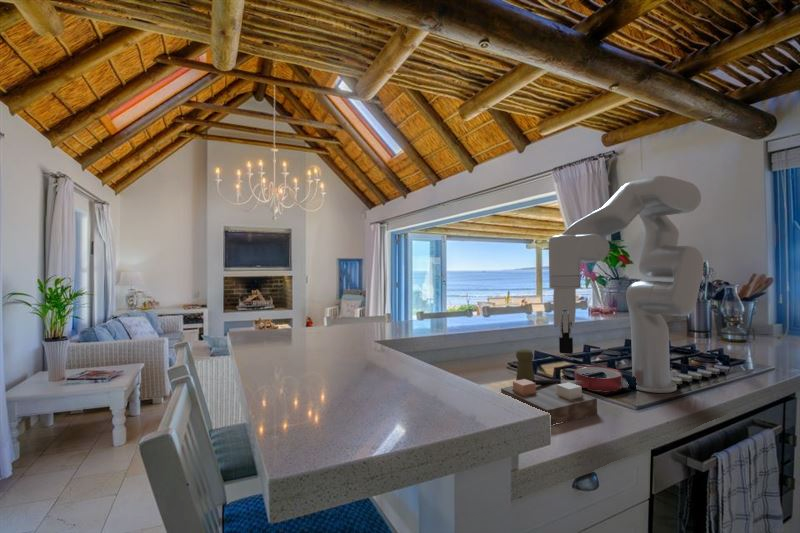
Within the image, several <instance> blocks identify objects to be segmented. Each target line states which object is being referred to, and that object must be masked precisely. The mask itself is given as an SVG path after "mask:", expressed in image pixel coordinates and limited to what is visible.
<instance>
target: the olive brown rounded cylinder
mask: <svg viewBox="0 0 800 533" xmlns="http://www.w3.org/2000/svg"><path fill="white" fill-rule="evenodd" d="M515 353H516V354H515V357H516V359H517V369H516V379H515V381H517V380H522V379H527V380H529V381H532V380H533V379H536V378H535V373H534V372H535V371H534V369H533V368H534V367H533V362H532V361H533V359H534V353H533V351H532V350H530V349H527V348H526V349H525V348H524V349H523V348H522V349H519V350H517V351H516V352H515Z"/></svg>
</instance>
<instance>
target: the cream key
mask: <svg viewBox="0 0 800 533" xmlns="http://www.w3.org/2000/svg"><path fill="white" fill-rule="evenodd" d="M582 393H583V390H582V387H581V386H579V385H576V384H573V383H570V382H567V383H562V384H558V385H557V395H559V396H562V397H564V398H566V399H569V400H571V399H575V398H579V397H582Z"/></svg>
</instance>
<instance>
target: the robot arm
mask: <svg viewBox="0 0 800 533" xmlns="http://www.w3.org/2000/svg"><path fill="white" fill-rule="evenodd" d="M701 201H702V194H701V190H700V189H699V187H698V186H696V184H694V183H692V182H690V181H686V180H683V179H679V178H676V177H673V176H667V175H655V176H651V177H646V178H641V179H636V180H631V181H629V182H627V183H624V185H622V186H621V187H620V188H619V189H618V190H617V191H616V192H615V193H614V194H613V195H612V196H611V197H610V198H609V200H608V199H607V201H606V202H605V203H604V204H603V206H601V207H600V208H599V209H596V210H595V211H592V212H591V213H590V214H588V215H586V216H584V217H582V218H580V219H578V220H577V221H575V222H574V223H572V224H571V225H570V226H569V227H567V228H566V229H565V230H564V231H563V232H562V233H561V234H558V235H552V236H550V238H549V239H548V277H549V278H548V279H549V282H548V283H549V286H548V287H549V289H553V301H552V302H553V303H552V304H553V305H552V306H553V327H554V328H557V327H558V326H559V337H558V338H559V339H558V342H559V344H558V345H559V347H558V348H559V350H558V351H559V353H560V354H564V355H565V354H568V355H572V354H574V341H573V340H574V339H573V336H572V335H573V334H572V329H573V328H574V327H575V322H576V311H577V310H576V309H577V306H576V305H577V304H576V301H577V300H576V298H577V297H576V296H577V295H576V292H577V291H576V290H577V289H578V290H579V289H581V285H582V284H581V282H582V281H581V263H583V264H584V263H597V262H601V261H603V260H604V259H605V258H607V257H608V256H609V253H610V249H611V248H610V243H609V241H608V239H607V238H606V236H610V235H613V234H616V233H618V232H621V231H623V230H625V229H626V228H627V227H628V226H629V225H630V224H631V222H632V221H633V220H634V219H635V218H636V217H637V216H638V215H639V216H638V217H639V218H640V219H641V221H642V224H643V227H644V229H645V236H644V241H643V245H642V250H641V254H640V258H639V265H638V270H639V272H640V275H642V276H643V277H644V276H645V277H646V278H651V279H666V280H667V279H669V280H671V279H673V281H661V280H639V281H635V282H632V283H631V284H630V285H629V286H627V289H626V292H625V300H626V304H627V310H628V312H629V313H628V314H629V318H630V319H629V321H630V337H631V338H630V340H631V367H632V368H631V370H632V377H633V376H634V377H635V378H636V383H637V385H636V389H635V390H637V391H641V392H642V391H643V392H645V393H658V394H668V393H673V392H676V391H677V390H678V388H677V387H678V385H677V384H676V383H675V382H674V381H672V379H673V378H675V377H678V376H680V375H679V372H678V370H677V369H673V370H671V368H670V366H671V365H670V364H671V362H670V361H671V360H670V338H669V336H670V335H669V334H670V333H669V326H668V323H667V321H666V320H665V318H664V315H665V316H666V315H667V316H676V317H686V316H688V315H691V314H692V312H693V311H694V310H695V308H696V305H697V301H698V297H699V292H700V287H701V284H702V283H701V282H702V278H703V274H704V273H703V272H704V257H703V255H702V252H701V251H700V250H699V249H698V248H697V247H695V246H692V245H678V243H679V242H678V241H679V237H680V232H679V230H678V228H677V226H676V225H675V224H674V222H673V221H672V220H670V218H669V217H668V216H671V215H681V214H687V213H692V212H694V211H695V210H697V208H699V206H700V205H701ZM626 384H627V386H629V384H628V382H627V381H626Z"/></svg>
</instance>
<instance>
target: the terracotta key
mask: <svg viewBox="0 0 800 533" xmlns="http://www.w3.org/2000/svg"><path fill="white" fill-rule="evenodd" d="M512 386H513V391H514V392H516V393H518V394H521V395H523V396H524V395H528V394H533V393H536V384H535V383H534V382H532V381H529V380H527V379H522V380H517V381H516V380H512Z"/></svg>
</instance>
